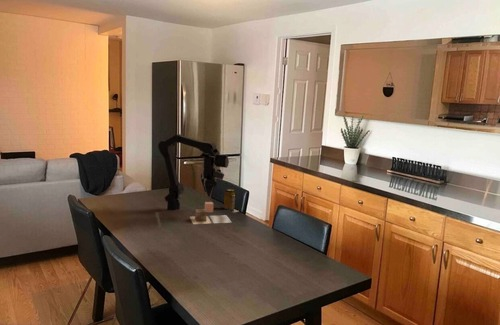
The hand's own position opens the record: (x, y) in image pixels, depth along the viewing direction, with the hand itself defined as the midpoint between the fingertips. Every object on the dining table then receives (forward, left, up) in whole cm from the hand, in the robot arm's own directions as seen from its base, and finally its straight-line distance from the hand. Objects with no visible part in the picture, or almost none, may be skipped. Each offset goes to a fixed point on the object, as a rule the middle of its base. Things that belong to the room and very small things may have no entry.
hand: (207, 194), depth 213 cm
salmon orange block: (+2, +4, -12) cm, 13 cm away
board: (0, -10, -12) cm, 16 cm away
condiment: (+15, +8, -12) cm, 21 cm away
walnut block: (-5, -10, -11) cm, 16 cm away
